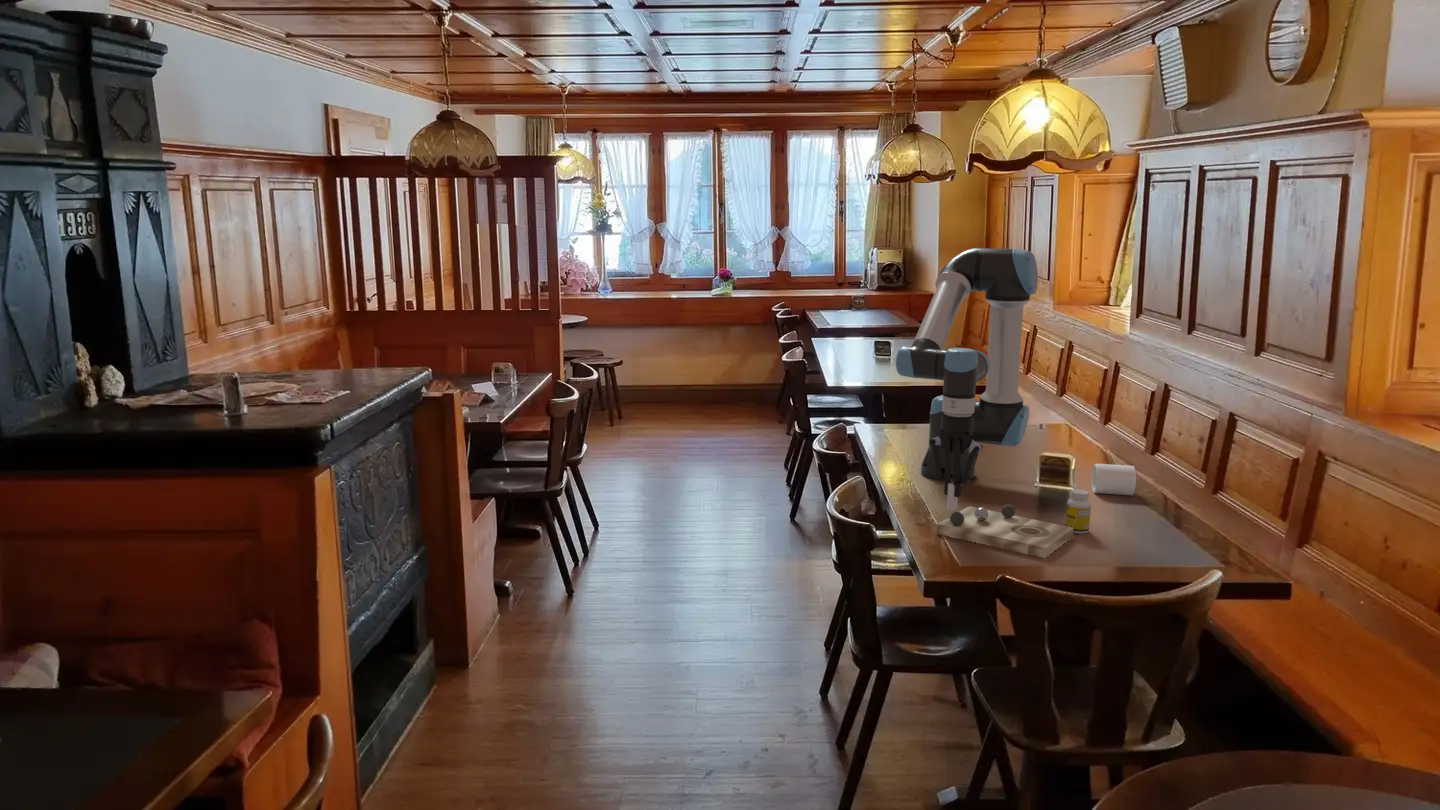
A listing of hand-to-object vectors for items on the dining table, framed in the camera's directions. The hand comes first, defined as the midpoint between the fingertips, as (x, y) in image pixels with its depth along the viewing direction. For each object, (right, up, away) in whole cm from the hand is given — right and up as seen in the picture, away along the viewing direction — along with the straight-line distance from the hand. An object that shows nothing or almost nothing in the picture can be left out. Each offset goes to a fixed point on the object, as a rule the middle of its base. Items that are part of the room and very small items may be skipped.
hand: (951, 508), depth 245 cm
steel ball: (+6, -1, -4) cm, 8 cm away
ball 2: (+13, 0, -2) cm, 13 cm away
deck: (+11, -6, -7) cm, 14 cm away
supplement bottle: (+29, -5, -3) cm, 30 cm away
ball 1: (-1, -2, -8) cm, 8 cm away
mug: (+50, +1, +31) cm, 59 cm away
